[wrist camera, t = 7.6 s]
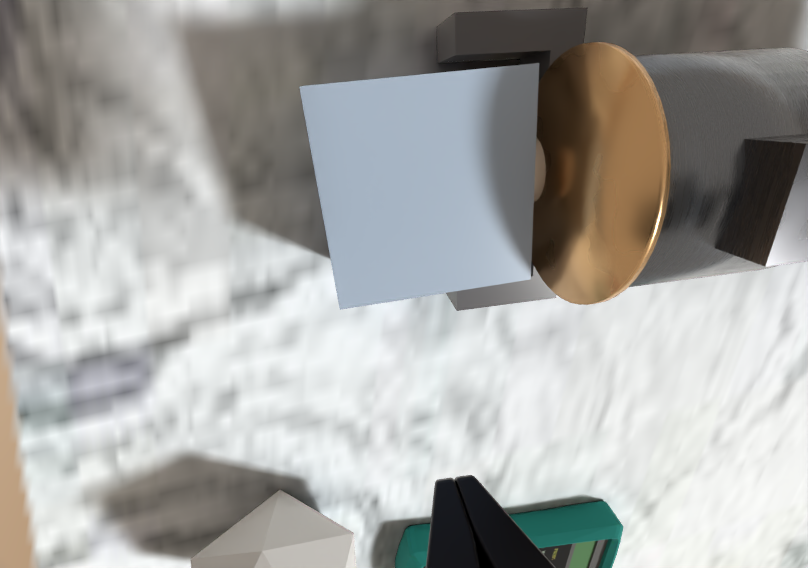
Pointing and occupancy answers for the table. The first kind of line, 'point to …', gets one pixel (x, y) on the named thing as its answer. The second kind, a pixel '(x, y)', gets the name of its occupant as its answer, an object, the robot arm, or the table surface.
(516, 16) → the clip bracket
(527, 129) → the blue-gray block
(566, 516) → the digital multimeter
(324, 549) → the die
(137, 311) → the table surface
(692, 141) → the cylinder
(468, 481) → the robot arm
